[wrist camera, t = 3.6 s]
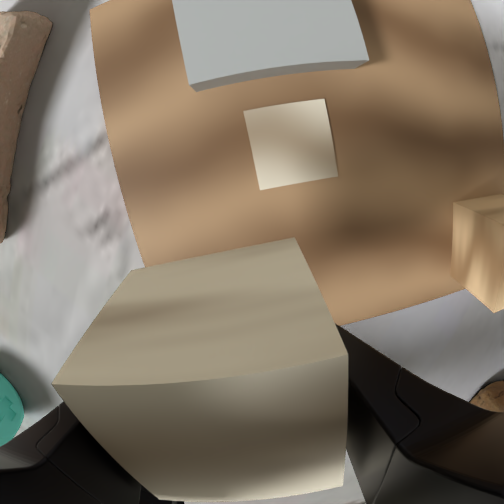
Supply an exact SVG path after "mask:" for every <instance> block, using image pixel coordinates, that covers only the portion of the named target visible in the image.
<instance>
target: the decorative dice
mask: <svg viewBox="0 0 504 504" xmlns="http://www.w3.org/2000/svg"><path fill="white" fill-rule="evenodd" d="M23 418H24V410H23V405H22V401H21V399H20V397H19V395H18V393H17V391H16V390H15V389H14V387H13V386H12V385H11V383H10V382H9V381H8V380H7V379H6V378H5V377H4V376H3V375H2V374H1V373H0V446H2V445H4V444H6V443H7V442H9V441H10V440H12V439H13V437H14V436H15V434H16V433H17V431H18V430H19V428H20V426H21V423H22V421H23Z"/></svg>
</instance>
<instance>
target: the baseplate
mask: <svg viewBox="0 0 504 504" xmlns="http://www.w3.org/2000/svg"><path fill="white" fill-rule="evenodd" d="M351 1H352V4H353V7H354V10H355V13H356V16H357V19H358V22H359V25H360V29H361V32H362V35H363V39H364V42H365V46H366V49H367V53H368V57H369V61H367V62H366V63H364V64H362V65H360V66H359V67H357V68H355V69H341V70H326V71H314V72H304V73H296V74H288V75H280V76H273V77H267V78H261V79H255V80H249V81H244V82H239V83H234V84H229V85H224V86H220V87H215V88H211V89H207V90H203V91H199V92H196V91H195V90H194V89H193V88H192V87H191V86H189V83H188V78H187V73H186V69H185V64H184V59H183V54H182V49H181V44H180V39H179V34H178V29H177V24H176V19H175V13H174V8H173V3H172V0H110V1H108V2H105V3H103V4H101V5H99V6H97V7H94V8H92V9H90V20H91V32H92V42H93V51H94V59H95V66H96V73H97V80H98V86H99V92H100V98H101V104H102V109H103V114H104V119H105V124H106V129H107V134H108V139H109V143H110V148H111V152H112V156H113V160H114V164H115V168H116V172H117V176H118V180H119V184H120V188H121V191H122V195H123V199H124V202H125V206H126V209H127V213H128V216H129V219H130V223H131V226H132V229H133V232H134V235H135V239H136V242H137V245H138V248H139V251H140V254H141V257H142V260H143V263H144V265H145V267H150V266H155V265H160V264H165V263H170V262H174V261H179V260H184V259H189V258H194V257H199V256H204V255H209V254H214V253H219V252H224V251H229V250H234V249H239V248H244V247H249V246H254V245H259V244H264V243H269V242H274V241H279V240H284V239H289V238H294V237H295V239H296V241H297V243H298V245H299V247H300V249H301V252H302V254H303V256H304V258H305V260H306V262H307V264H308V266H309V268H310V270H311V273H312V275H313V277H314V279H315V281H316V283H317V285H318V288H319V290H320V292H321V294H322V296H323V298H324V301H325V303H326V305H327V307H328V309H329V312H330V314H331V316H332V318H333V321H334V323H336V324H337V325H339V326H341V325H345V324H349V323H353V322H357V321H361V320H365V319H368V318H372V317H376V316H380V315H383V314H387V313H390V312H394V311H397V310H401V309H404V308H408V307H411V306H414V305H418V304H421V303H424V302H427V301H430V300H433V299H436V298H439V297H443V296H446V295H448V294H451V293H454V292H457V291H460V290H463V289H466V288H464V287H463V286H462V285H461V284H460V283H458V282H457V281H456V280H455V279H453V278H452V277H451V276H450V269H451V256H452V239H453V202H458V201H464V200H470V199H475V198H481V197H487V196H492V195H498V194H503V195H504V141H503V130H502V121H501V114H500V107H499V101H498V95H497V89H496V84H495V80H494V75H493V70H492V66H491V62H490V58H489V54H488V51H487V47H486V44H485V40H484V37H483V34H482V31H481V28H480V25H479V22H478V19H477V16H476V14H475V11H474V8H473V6H472V3H471V1H470V0H351Z"/></svg>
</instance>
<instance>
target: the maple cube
mask: <svg viewBox="0 0 504 504" xmlns="http://www.w3.org/2000/svg"><path fill="white" fill-rule="evenodd" d="M450 276H451V277H452V278H453V279H455V280H456V281H457V282H458V283H460V284H461V285H462V286H463V287H464V288H466V289H467V290H468V291H469V292H470V293H471V294H473V295H474V296H475V297H476V298H477V299H478V300H480V301H481V302H482V303H483V304H484V305H485V306H486V307H488V308H489V309H490V310H491V311H492V312H493V313H496V312H498V311H500V310H502V309H504V195H503V194H498V195H492V196H487V197H481V198H475V199H470V200H464V201H458V202H453V239H452V256H451V269H450Z"/></svg>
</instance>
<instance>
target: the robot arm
mask: <svg viewBox="0 0 504 504" xmlns="http://www.w3.org/2000/svg"><path fill="white" fill-rule="evenodd" d="M335 325H336V327H337V330H338V332H339V334H340V336H341V339H342V341H343V343H344V346H345V348H346V350H347V353H348V416H347V438H346V450H347V452H348V455H349V458H350V460H351V463H352V466H353V469H354V471H355V474H356V477H357V479H358V482H359V485H360V488H361V490H362V493H363V496H364V499H365V501H366V504H504V412H496V411H490V410H486V409H483V408H481V407H478V406H476V405H474V404H472V403H470V402H467V401H465V400H463V399H461V398H459V397H456V396H454V395H452V394H450V393H448V392H446V391H444V390H442V389H440V388H438V387H436V386H434V385H432V384H430V383H428V382H426V381H424V380H423V379H421V378H419V377H418V376H416V375H414V374H413V373H411V372H410V371H408V370H406V369H405V368H401V366H400V365H399V364H397V363H395V362H394V361H392V360H391V359H389V358H388V357H386V356H385V355H383V354H382V353H380V352H378V351H377V350H375V349H374V348H372V347H371V346H369V345H368V344H366V343H365V342H363V341H362V340H360V339H359V338H357V337H355V336H354V335H352V334H351V333H349V332H348V331H346V330H345V329H343V328H342V327H340V326H339V325H337V324H336V323H335ZM0 504H184V501H172V500H159V499H158V498H157V497H156V496H155V495H153V494H152V493H151V492H150V491H148V490H147V489H146V488H145V487H144V486H143V485H142V484H140V483H139V482H138V481H137V480H136V479H135V478H134V477H133V476H131V475H130V474H129V473H128V472H127V471H126V470H125V469H124V468H123V467H122V466H121V465H120V464H119V463H118V462H117V461H116V460H115V459H114V458H113V457H112V456H111V455H110V454H109V453H108V452H107V451H106V450H105V449H104V448H103V447H102V446H101V445H100V444H99V443H98V442H97V440H96V439H95V438H94V437H93V436H92V435H91V434H90V433H89V431H88V430H87V429H86V428H85V427H84V426H83V424H82V423H81V422H80V421H79V420H78V418H77V417H76V416H75V415H74V414H73V412H72V411H71V410H70V409H69V407H68V406H67V405H66V403H65V402H62V403H61V404H60V405H59V406H57V407H56V408H55V409H53V410H52V411H51V412H50V413H48V414H47V415H46V416H45V417H43V418H42V419H41V420H39V421H38V422H36V423H35V424H34V425H32V426H31V427H29V428H28V429H26V430H25V431H23V432H22V433H21V434H19V435H18V436H16V437H15V438H13V439H12V440H10V441H9V442H7V443H6V444H4V445H2V446H0Z"/></svg>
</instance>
